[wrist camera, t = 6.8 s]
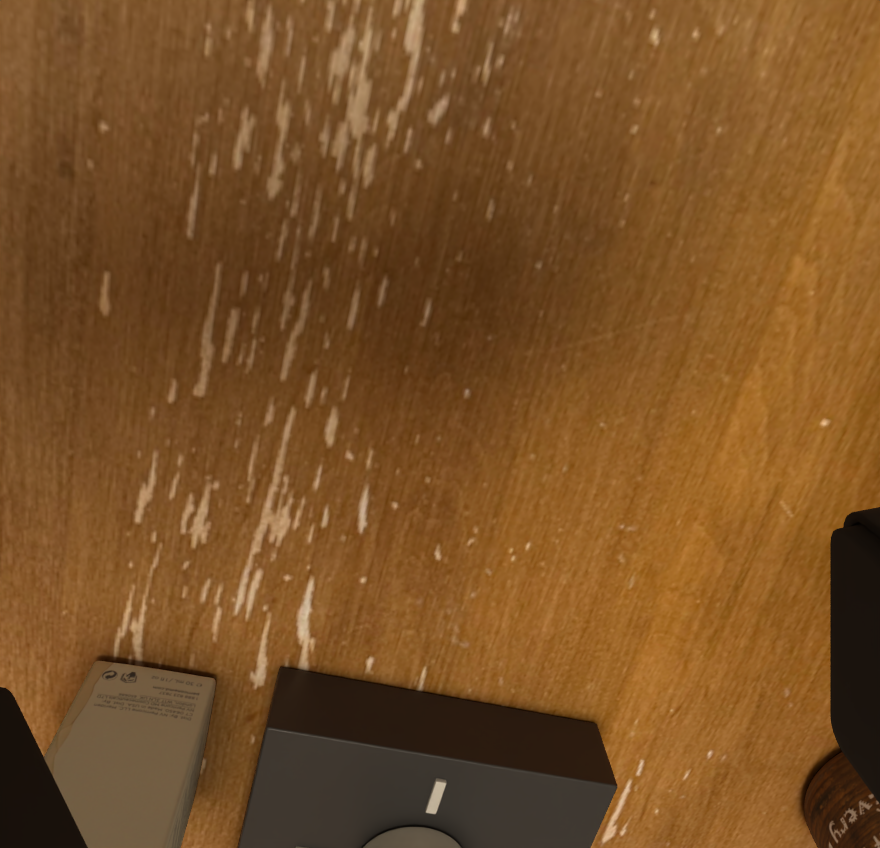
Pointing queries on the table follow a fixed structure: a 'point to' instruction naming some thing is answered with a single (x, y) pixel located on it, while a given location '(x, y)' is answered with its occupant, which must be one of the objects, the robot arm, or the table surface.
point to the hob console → (420, 770)
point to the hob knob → (412, 839)
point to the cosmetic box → (132, 754)
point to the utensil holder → (841, 808)
